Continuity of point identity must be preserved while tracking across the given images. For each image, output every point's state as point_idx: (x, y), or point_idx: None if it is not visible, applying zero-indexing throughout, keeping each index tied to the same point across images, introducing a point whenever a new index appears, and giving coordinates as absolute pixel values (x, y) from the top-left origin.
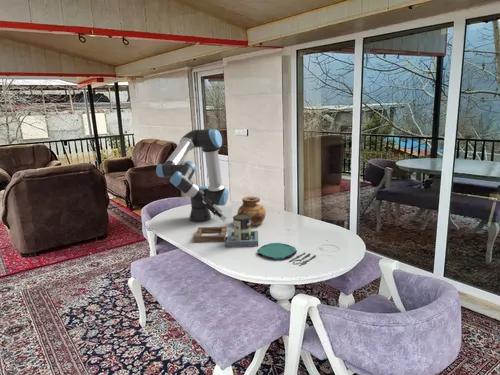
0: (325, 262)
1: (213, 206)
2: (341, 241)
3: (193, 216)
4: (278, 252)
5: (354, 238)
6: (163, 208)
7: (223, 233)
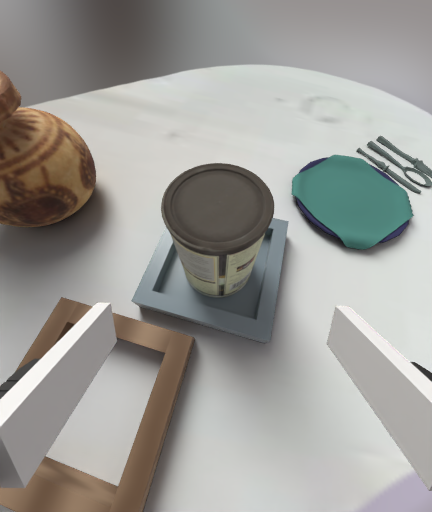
0: (411, 134)
1: (27, 442)
2: (292, 85)
3: None
4: (359, 196)
5: (280, 68)
6: None
7: (149, 331)
